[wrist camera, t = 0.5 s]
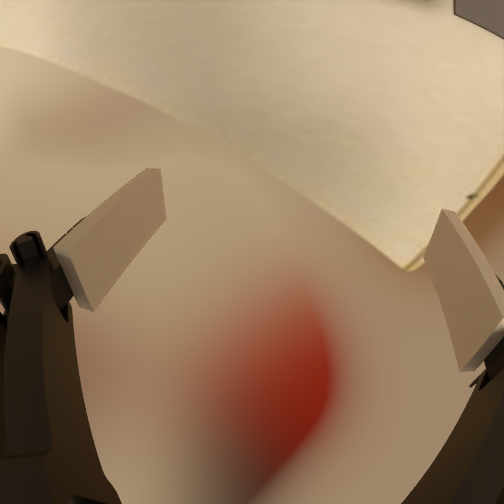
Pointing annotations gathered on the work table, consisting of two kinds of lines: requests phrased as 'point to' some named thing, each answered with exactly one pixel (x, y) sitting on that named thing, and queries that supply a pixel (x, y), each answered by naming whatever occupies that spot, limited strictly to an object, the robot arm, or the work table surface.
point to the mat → (482, 14)
